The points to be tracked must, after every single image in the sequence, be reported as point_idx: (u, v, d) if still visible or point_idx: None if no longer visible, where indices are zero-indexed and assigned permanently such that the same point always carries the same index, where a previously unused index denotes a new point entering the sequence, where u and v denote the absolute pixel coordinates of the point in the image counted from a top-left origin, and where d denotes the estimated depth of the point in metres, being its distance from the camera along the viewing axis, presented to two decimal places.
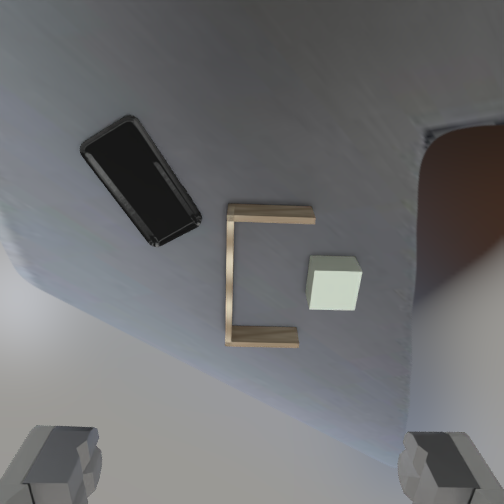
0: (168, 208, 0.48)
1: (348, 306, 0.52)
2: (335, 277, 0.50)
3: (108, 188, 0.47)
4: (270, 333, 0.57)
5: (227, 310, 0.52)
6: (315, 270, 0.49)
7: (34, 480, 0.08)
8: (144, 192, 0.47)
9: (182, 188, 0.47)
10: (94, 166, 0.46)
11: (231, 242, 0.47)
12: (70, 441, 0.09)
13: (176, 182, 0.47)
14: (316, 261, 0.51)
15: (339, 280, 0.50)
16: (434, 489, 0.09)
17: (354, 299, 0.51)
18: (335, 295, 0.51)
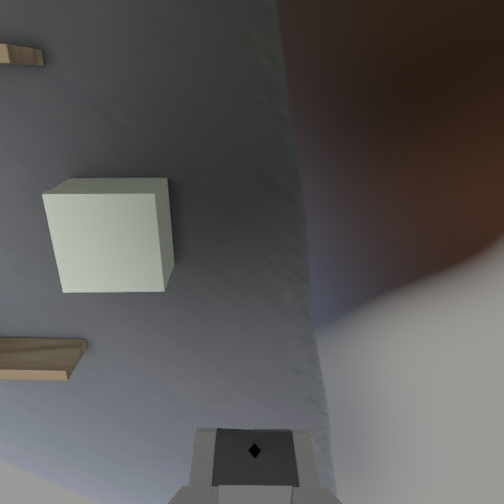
0: None
1: (148, 282, 0.23)
2: (97, 211, 0.22)
3: None
4: (21, 350, 0.28)
5: None
6: (45, 194, 0.21)
7: (221, 482, 0.09)
8: None
9: None
10: None
11: None
12: (239, 443, 0.09)
13: None
14: (70, 183, 0.23)
15: (108, 216, 0.22)
16: (255, 487, 0.09)
17: (156, 265, 0.23)
18: (110, 256, 0.23)
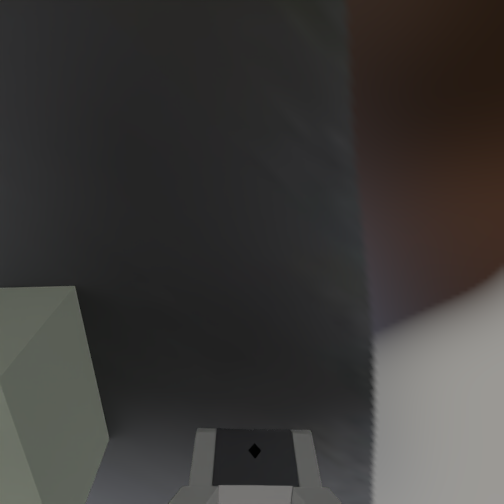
0: None
1: None
2: None
3: None
4: None
5: None
6: None
7: (221, 482, 0.09)
8: None
9: None
10: None
11: None
12: (239, 443, 0.09)
13: None
14: None
15: None
16: (255, 487, 0.09)
17: None
18: None
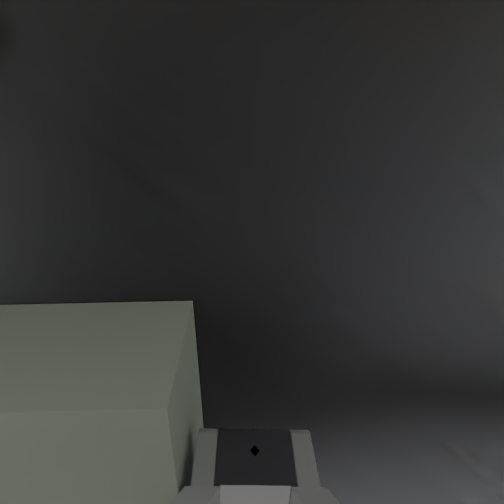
0: None
1: None
2: (10, 451, 0.08)
3: None
4: None
5: None
6: None
7: (223, 482, 0.09)
8: None
9: None
10: None
11: None
12: (241, 443, 0.09)
13: None
14: None
15: (40, 461, 0.08)
16: None
17: None
18: None
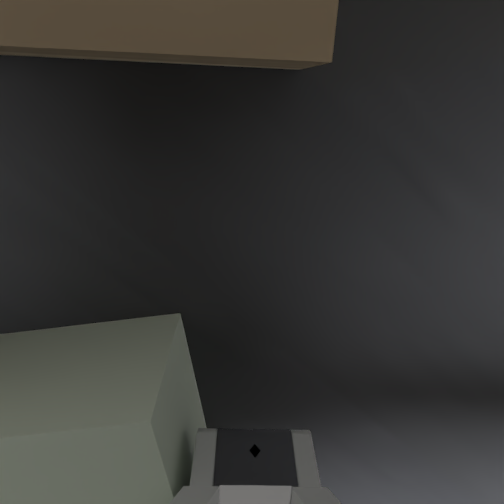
0: None
1: None
2: (9, 474, 0.08)
3: None
4: None
5: None
6: None
7: (222, 482, 0.09)
8: None
9: None
10: None
11: None
12: (240, 443, 0.09)
13: None
14: None
15: (39, 481, 0.08)
16: (254, 487, 0.09)
17: None
18: None
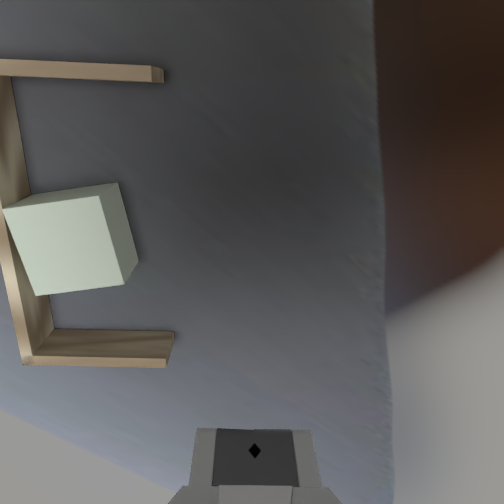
0: None
1: (108, 277, 0.26)
2: (52, 218, 0.24)
3: None
4: (119, 341, 0.30)
5: (9, 287, 0.26)
6: (5, 209, 0.24)
7: (221, 482, 0.09)
8: None
9: None
10: None
11: None
12: (239, 443, 0.09)
13: None
14: (30, 198, 0.26)
15: (62, 222, 0.24)
16: (255, 487, 0.09)
17: (112, 260, 0.25)
18: (70, 258, 0.25)
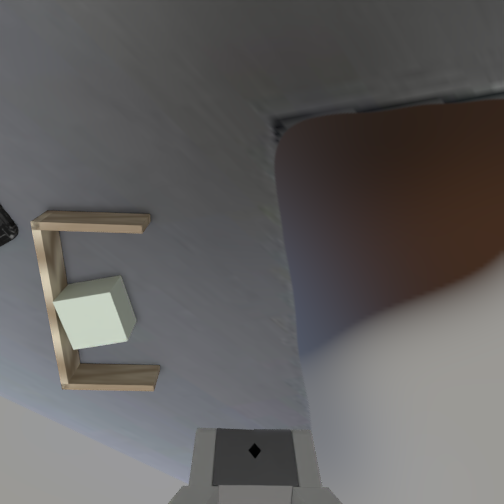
0: None
1: (117, 337, 0.42)
2: (82, 305, 0.40)
3: None
4: (123, 373, 0.46)
5: (55, 343, 0.42)
6: (54, 301, 0.40)
7: (221, 482, 0.09)
8: None
9: None
10: None
11: (42, 256, 0.38)
12: (239, 443, 0.09)
13: None
14: (67, 290, 0.42)
15: (88, 307, 0.40)
16: (255, 487, 0.09)
17: (120, 327, 0.41)
18: (94, 327, 0.41)
